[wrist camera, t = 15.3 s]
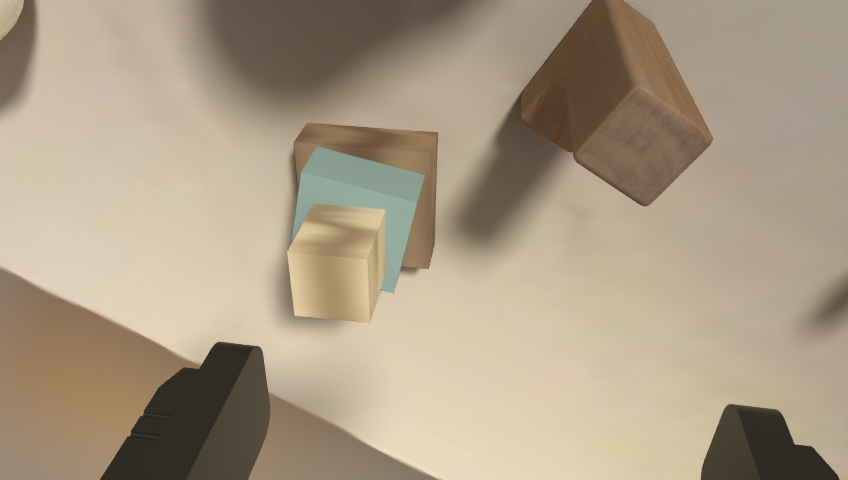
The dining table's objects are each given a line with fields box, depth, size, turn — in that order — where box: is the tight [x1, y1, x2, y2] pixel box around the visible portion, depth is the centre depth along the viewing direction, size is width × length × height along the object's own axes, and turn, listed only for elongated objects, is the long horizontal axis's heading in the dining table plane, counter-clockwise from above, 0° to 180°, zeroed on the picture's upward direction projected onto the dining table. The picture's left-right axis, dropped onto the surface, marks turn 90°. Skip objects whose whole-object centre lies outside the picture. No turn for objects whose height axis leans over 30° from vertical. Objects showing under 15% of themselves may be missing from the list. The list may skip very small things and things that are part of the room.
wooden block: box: [520, 0, 713, 206], centre depth 39 cm, size 9×4×18 cm, turn 148°
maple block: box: [287, 204, 387, 323], centre depth 45 cm, size 5×5×6 cm
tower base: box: [294, 123, 438, 269], centre depth 53 cm, size 10×10×4 cm
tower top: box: [288, 146, 425, 293], centre depth 49 cm, size 8×8×4 cm
